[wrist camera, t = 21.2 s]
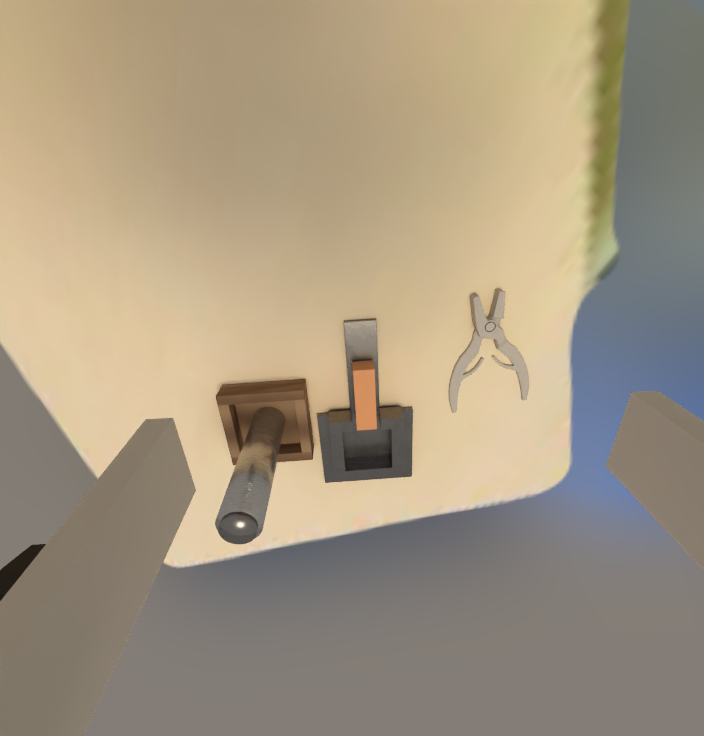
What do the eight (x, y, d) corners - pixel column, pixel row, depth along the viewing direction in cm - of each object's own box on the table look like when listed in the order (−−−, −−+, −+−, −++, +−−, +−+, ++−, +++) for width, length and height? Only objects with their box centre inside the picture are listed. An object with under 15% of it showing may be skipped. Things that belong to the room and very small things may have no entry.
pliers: (452, 416, 46) (443, 302, 40) (449, 409, 48) (440, 298, 41) (531, 402, 46) (535, 284, 39) (525, 396, 47) (528, 281, 41)
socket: (306, 323, 42) (304, 333, 39) (413, 316, 42) (418, 325, 39) (325, 479, 52) (324, 496, 49) (410, 473, 52) (415, 489, 49)
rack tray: (222, 384, 45) (215, 396, 42) (305, 379, 45) (303, 390, 42) (238, 451, 49) (233, 465, 46) (313, 445, 49) (312, 459, 47)
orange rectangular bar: (352, 361, 43) (353, 370, 41) (372, 360, 43) (374, 369, 41) (355, 419, 46) (357, 430, 44) (375, 417, 46) (376, 429, 44)
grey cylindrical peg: (250, 407, 45) (208, 515, 30) (283, 405, 45) (257, 512, 30) (256, 434, 47) (219, 549, 32) (287, 432, 47) (265, 545, 32)
